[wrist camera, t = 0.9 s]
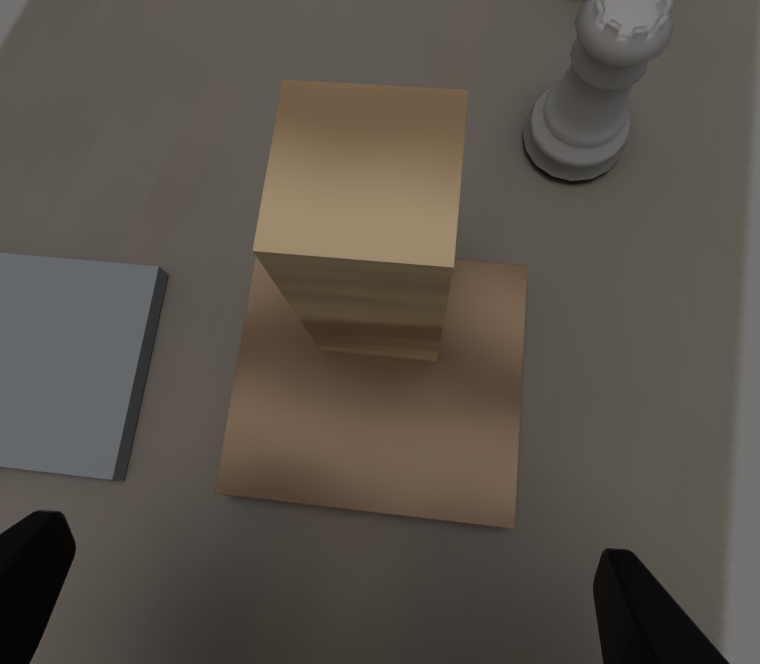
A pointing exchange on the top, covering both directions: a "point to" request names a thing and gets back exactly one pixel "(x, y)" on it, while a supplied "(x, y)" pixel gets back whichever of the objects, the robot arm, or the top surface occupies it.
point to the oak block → (364, 213)
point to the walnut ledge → (383, 410)
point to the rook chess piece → (596, 87)
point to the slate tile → (74, 361)
